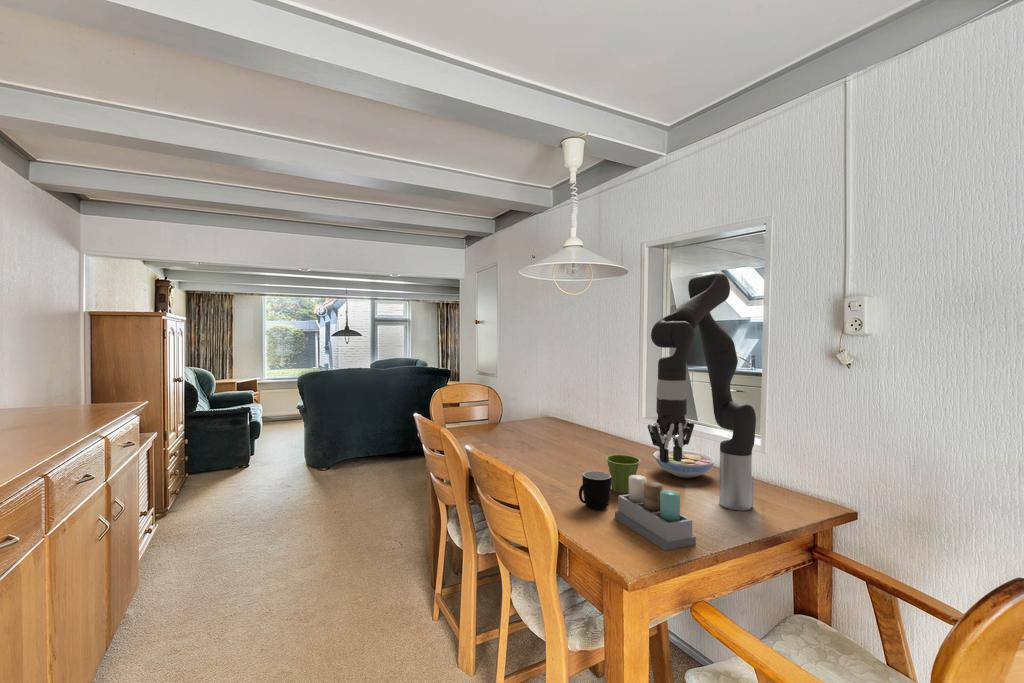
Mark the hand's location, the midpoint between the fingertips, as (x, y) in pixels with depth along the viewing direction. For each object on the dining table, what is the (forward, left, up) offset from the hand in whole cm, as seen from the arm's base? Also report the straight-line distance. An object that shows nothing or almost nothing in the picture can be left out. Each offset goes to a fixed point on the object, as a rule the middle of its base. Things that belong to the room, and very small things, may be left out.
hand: (670, 461), depth 119 cm
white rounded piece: (0, -14, -15) cm, 21 cm away
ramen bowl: (-44, -44, -21) cm, 66 cm away
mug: (+7, -27, -21) cm, 35 cm away
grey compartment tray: (0, -7, -21) cm, 22 cm away
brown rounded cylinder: (0, -7, -15) cm, 17 cm away
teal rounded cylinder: (0, 0, -15) cm, 15 cm away
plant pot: (-11, -37, -21) cm, 44 cm away
